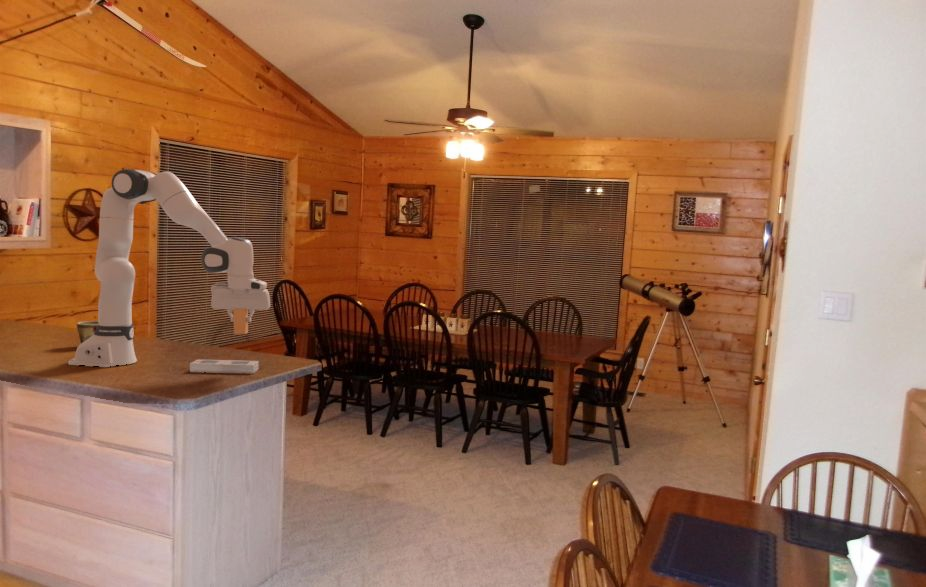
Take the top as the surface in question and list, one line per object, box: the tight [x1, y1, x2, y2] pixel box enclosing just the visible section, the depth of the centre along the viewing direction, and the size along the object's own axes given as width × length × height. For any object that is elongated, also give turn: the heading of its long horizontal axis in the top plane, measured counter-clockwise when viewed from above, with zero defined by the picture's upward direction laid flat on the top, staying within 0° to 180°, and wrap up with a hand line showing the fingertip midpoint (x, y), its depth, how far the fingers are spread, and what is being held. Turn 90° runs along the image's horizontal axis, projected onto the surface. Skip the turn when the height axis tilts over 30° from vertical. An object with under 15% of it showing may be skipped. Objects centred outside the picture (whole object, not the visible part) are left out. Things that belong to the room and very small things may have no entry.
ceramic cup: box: [76, 320, 98, 344], centre depth 292 cm, size 13×10×10 cm
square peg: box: [233, 309, 249, 335], centre depth 255 cm, size 4×4×9 cm
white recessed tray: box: [189, 358, 260, 375], centre depth 256 cm, size 22×8×3 cm, turn 93°
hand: (241, 321), depth 255 cm, fingers closed on square peg, 4 cm apart
